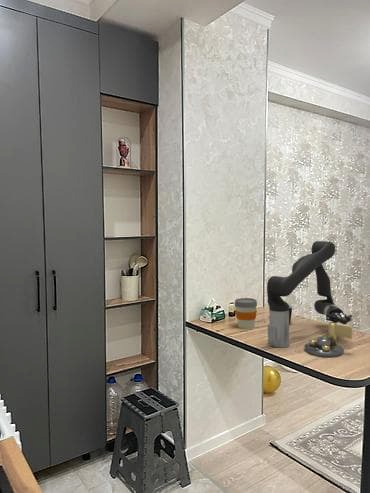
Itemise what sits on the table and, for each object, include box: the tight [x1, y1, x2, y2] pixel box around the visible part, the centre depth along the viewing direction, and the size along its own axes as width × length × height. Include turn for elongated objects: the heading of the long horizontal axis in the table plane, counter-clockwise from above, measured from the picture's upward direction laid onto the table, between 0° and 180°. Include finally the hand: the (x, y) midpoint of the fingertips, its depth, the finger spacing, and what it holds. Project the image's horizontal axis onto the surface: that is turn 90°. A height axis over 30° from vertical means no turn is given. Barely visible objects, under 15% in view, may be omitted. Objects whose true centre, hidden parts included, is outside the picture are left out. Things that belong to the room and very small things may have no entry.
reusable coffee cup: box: [234, 297, 258, 330], centre depth 221 cm, size 13×13×15 cm
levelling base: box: [303, 335, 345, 358], centre depth 179 cm, size 17×17×6 cm
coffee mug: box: [289, 305, 293, 326], centre depth 226 cm, size 12×9×10 cm
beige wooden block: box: [327, 321, 353, 347], centre depth 178 cm, size 11×4×10 cm, turn 41°
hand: (344, 322), depth 182 cm, fingers closed
